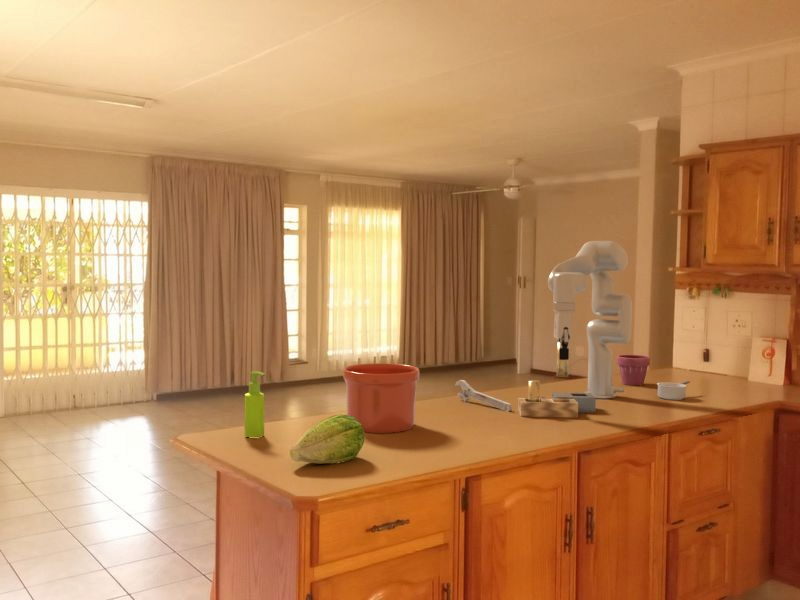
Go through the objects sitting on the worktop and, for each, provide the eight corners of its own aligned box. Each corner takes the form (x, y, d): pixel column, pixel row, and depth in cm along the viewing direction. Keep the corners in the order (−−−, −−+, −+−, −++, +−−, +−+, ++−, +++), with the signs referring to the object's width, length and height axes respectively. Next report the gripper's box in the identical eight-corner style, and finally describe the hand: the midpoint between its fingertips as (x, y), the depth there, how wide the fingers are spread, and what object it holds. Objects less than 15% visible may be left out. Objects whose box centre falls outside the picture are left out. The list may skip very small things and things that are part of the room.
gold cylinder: (566, 375, 256) (567, 342, 255) (569, 377, 252) (569, 343, 251) (555, 375, 256) (556, 342, 255) (557, 377, 252) (558, 343, 251)
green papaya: (272, 441, 190) (293, 421, 180) (337, 420, 204) (360, 401, 195) (290, 486, 186) (313, 469, 176) (356, 461, 200) (380, 444, 191)
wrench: (508, 419, 259) (453, 398, 282) (511, 419, 260) (456, 397, 283) (510, 398, 258) (455, 378, 281) (513, 398, 259) (458, 378, 282)
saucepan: (701, 396, 294) (701, 383, 294) (678, 402, 281) (678, 388, 281) (675, 392, 303) (675, 379, 303) (651, 397, 290) (651, 384, 289)
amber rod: (538, 413, 257) (538, 380, 256) (539, 415, 253) (540, 382, 252) (527, 412, 257) (527, 380, 256) (528, 415, 253) (529, 381, 252)
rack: (573, 412, 258) (573, 399, 258) (577, 417, 250) (578, 403, 250) (518, 411, 259) (518, 398, 259) (520, 416, 251) (520, 402, 251)
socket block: (589, 407, 269) (589, 392, 268) (595, 412, 259) (595, 397, 258) (552, 406, 269) (552, 392, 269) (556, 411, 259) (556, 396, 259)
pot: (332, 421, 240) (333, 365, 239) (400, 415, 250) (401, 361, 249) (358, 438, 217) (358, 376, 217) (431, 431, 227) (432, 371, 226)
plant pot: (611, 381, 329) (612, 354, 328) (640, 381, 331) (641, 354, 330) (624, 387, 315) (625, 358, 314) (654, 386, 316) (655, 358, 316)
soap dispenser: (257, 440, 214) (257, 374, 213) (240, 437, 217) (240, 372, 216) (270, 436, 219) (270, 371, 218) (254, 433, 222) (254, 369, 221)
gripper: (549, 306, 261) (548, 355, 262) (557, 308, 244) (555, 361, 245) (570, 306, 261) (569, 356, 261) (579, 309, 244) (577, 362, 245)
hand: (562, 358), depth 253 cm, fingers closed on gold cylinder, 4 cm apart
